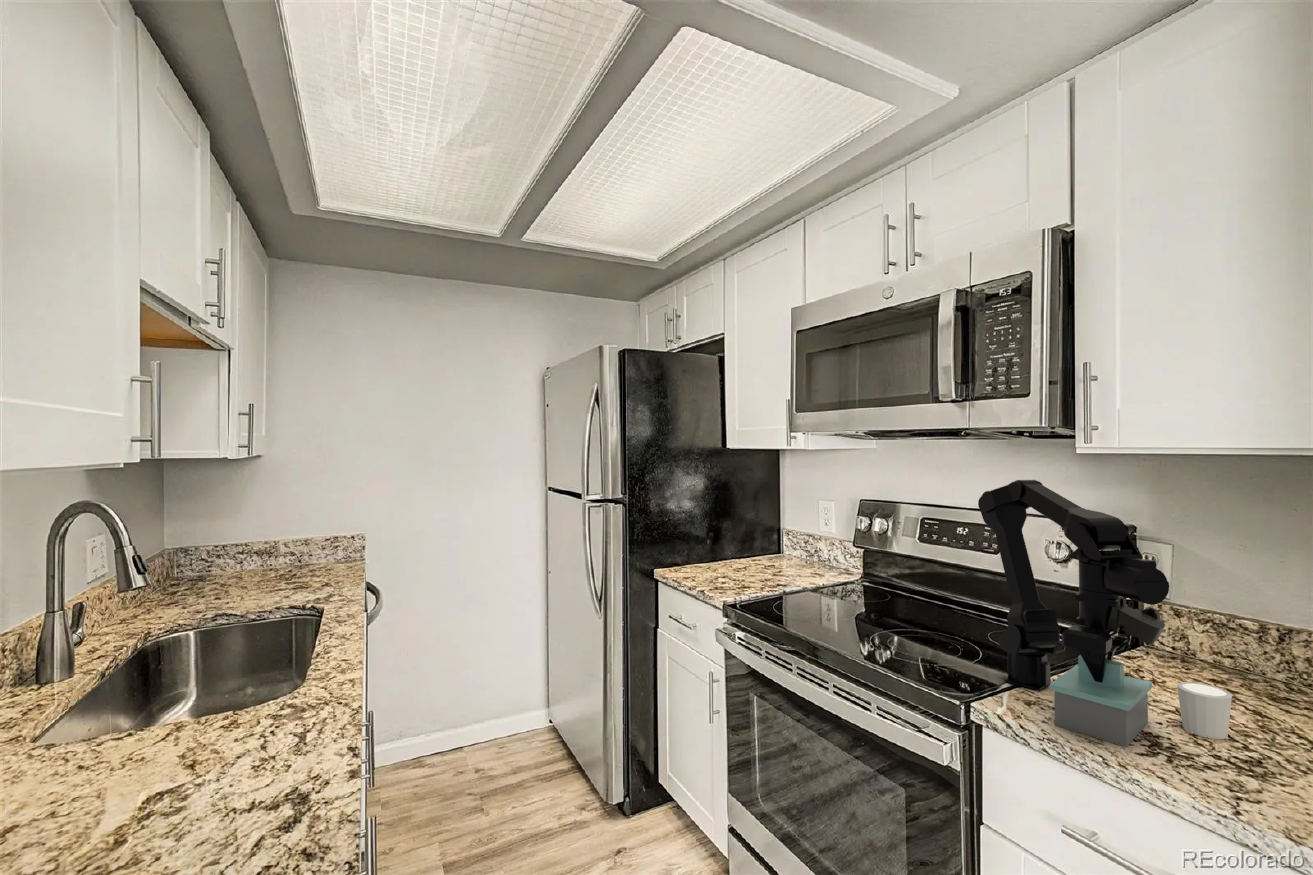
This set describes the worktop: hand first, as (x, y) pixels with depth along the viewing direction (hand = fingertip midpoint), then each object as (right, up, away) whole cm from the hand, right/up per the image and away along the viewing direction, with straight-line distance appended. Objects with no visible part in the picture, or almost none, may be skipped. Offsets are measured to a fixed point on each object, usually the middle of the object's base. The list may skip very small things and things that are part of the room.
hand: (1100, 680), depth 104 cm
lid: (0, -3, 0) cm, 2 cm away
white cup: (+15, -8, -3) cm, 17 cm away
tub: (0, -8, 0) cm, 8 cm away
